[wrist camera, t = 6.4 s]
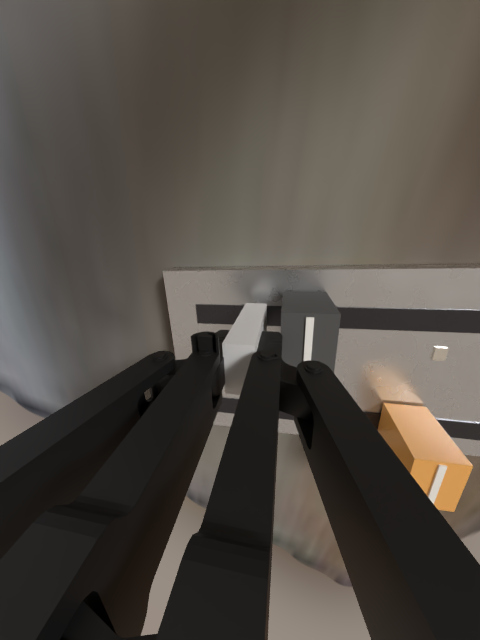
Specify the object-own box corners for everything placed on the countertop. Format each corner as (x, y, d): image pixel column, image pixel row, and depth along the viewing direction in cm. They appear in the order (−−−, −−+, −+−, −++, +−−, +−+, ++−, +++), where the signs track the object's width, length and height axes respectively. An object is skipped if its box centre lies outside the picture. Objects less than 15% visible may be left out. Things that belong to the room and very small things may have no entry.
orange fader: (383, 402, 19) (415, 460, 14) (426, 406, 18) (474, 467, 13) (375, 441, 20) (402, 505, 15) (414, 445, 19) (454, 513, 15)
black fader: (282, 291, 17) (281, 313, 12) (326, 291, 17) (341, 314, 12) (281, 341, 18) (279, 378, 14) (321, 342, 18) (333, 382, 13)
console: (173, 267, 20) (161, 271, 18) (578, 262, 15) (621, 267, 13) (192, 407, 26) (184, 421, 24) (498, 440, 20) (520, 462, 18)
